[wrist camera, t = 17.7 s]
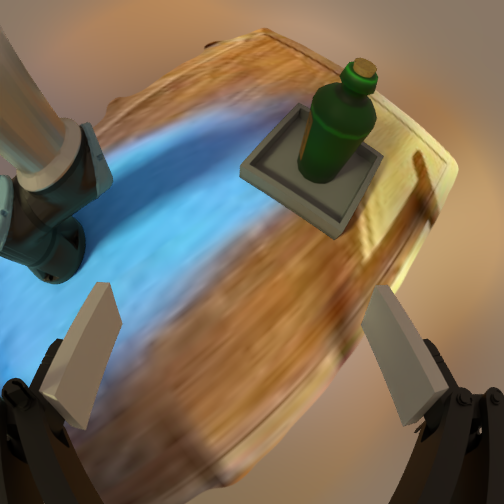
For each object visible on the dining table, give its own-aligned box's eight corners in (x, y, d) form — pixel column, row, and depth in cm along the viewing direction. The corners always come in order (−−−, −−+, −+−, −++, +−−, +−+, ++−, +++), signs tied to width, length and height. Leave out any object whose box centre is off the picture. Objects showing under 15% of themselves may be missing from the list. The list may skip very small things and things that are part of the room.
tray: (239, 177, 55) (240, 165, 50) (295, 115, 60) (298, 102, 56) (334, 240, 52) (342, 232, 48) (375, 166, 58) (383, 156, 54)
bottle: (328, 144, 57) (374, 46, 30) (348, 184, 55) (414, 92, 28) (284, 151, 56) (314, 41, 29) (302, 194, 53) (353, 90, 26)
